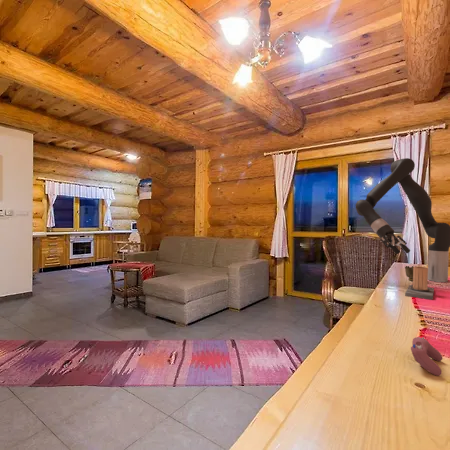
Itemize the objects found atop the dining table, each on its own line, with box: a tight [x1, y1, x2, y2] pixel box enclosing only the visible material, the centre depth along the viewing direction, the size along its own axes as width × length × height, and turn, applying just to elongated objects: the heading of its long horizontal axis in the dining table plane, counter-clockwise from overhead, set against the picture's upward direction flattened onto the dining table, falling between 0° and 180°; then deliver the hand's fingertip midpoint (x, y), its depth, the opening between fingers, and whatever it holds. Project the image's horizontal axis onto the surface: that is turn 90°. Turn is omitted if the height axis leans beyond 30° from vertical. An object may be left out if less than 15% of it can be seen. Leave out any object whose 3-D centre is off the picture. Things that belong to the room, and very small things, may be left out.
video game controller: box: [410, 336, 443, 377], centre depth 67 cm, size 10×5×7 cm, turn 142°
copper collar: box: [412, 266, 429, 290], centre depth 133 cm, size 6×6×10 cm
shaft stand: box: [404, 284, 435, 301], centre depth 133 cm, size 20×10×11 cm, turn 142°
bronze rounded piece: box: [404, 265, 417, 282], centre depth 161 cm, size 8×7×8 cm
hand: (403, 252), depth 142 cm, fingers open, 8 cm apart
